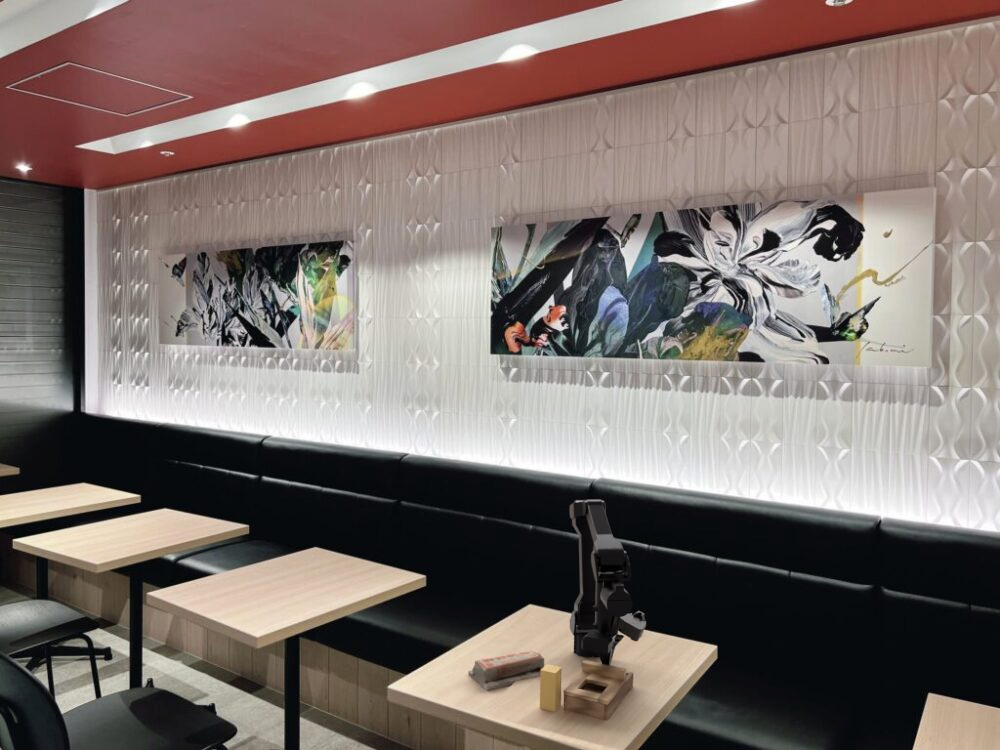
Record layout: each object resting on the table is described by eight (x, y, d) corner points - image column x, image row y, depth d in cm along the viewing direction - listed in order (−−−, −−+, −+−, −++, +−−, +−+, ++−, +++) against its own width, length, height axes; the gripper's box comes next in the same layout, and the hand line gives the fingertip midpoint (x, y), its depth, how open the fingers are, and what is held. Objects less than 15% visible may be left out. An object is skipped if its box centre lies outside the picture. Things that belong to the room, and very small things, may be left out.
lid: (563, 694, 170) (563, 681, 170) (584, 671, 182) (584, 659, 181) (607, 704, 165) (607, 691, 165) (626, 680, 177) (626, 668, 177)
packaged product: (487, 672, 180) (468, 656, 189) (486, 693, 180) (467, 676, 189) (554, 658, 188) (533, 643, 197) (553, 677, 189) (532, 662, 198)
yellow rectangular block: (539, 711, 171) (540, 670, 170) (546, 704, 174) (546, 664, 174) (554, 715, 169) (555, 673, 169) (560, 708, 173) (561, 667, 172)
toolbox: (563, 712, 170) (563, 694, 170) (591, 680, 186) (592, 664, 186) (607, 723, 166) (607, 705, 166) (632, 689, 182) (633, 672, 182)
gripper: (630, 620, 167) (628, 692, 168) (654, 594, 184) (652, 660, 185) (581, 611, 172) (579, 681, 173) (608, 587, 189) (607, 651, 190)
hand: (606, 668), depth 180 cm, fingers closed
